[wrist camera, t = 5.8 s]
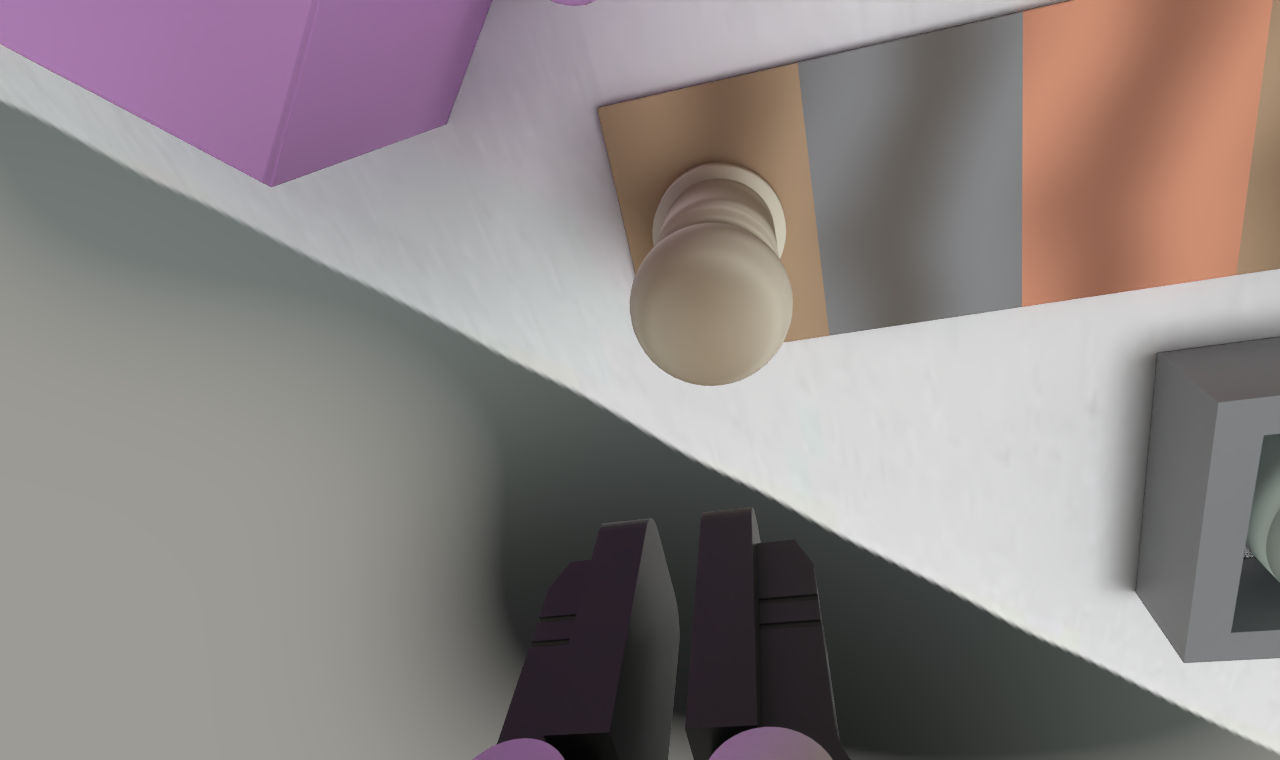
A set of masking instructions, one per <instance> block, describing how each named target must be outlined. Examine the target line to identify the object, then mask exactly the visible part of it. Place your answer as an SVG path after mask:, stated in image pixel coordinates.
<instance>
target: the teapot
mask: <svg viewBox="0 0 1280 760" xmlns="http://www.w3.org/2000/svg"><path fill="white" fill-rule="evenodd" d="M551 1H553V2H556V3H559V4H564V5H570V6H577V5H586V4H589V3H591V2H593V1H595V0H551ZM491 2H492V0H0V44H1V45H3V46H5V47H7V48H9V49H11V50H13V51H15V52H16V53H18V54H20V55H22V56H24V57H26V58H28V59H30V60H31V61H33V62H35V63H37V64H39V65H41V66H43V67H44V68H46V69H48V70H50V71H52V72H54V73H56V74H58V75H60V76H62V77H64V78H66V79H67V80H69V81H71V82H73V83H75V84H77V85H79V86H81V87H83V88H85V89H87V90H89V91H91V92H92V93H94V94H96V95H98V96H100V97H102V98H104V99H106V100H108V101H109V102H111V103H113V104H115V105H117V106H119V107H121V108H123V109H125V110H126V111H128V112H130V113H132V114H134V115H136V116H138V117H140V118H142V119H143V120H145V121H147V122H149V123H151V124H153V125H155V126H157V127H159V128H160V129H162V130H164V131H166V132H168V133H170V134H172V135H174V136H176V137H177V138H179V139H181V140H183V141H185V142H187V143H189V144H191V145H193V146H194V147H196V148H198V149H200V150H202V151H204V152H206V153H208V154H210V155H211V156H213V157H215V158H217V159H219V160H221V161H223V162H225V163H227V164H228V165H230V166H232V167H234V168H236V169H238V170H240V171H242V172H244V173H245V174H247V175H249V176H251V177H253V178H255V179H257V180H259V181H260V182H262V183H264V184H266V185H268V186H270V187H274V186H276V185H279V184H282V183H285V182H288V181H290V180H293V179H296V178H299V177H301V176H304V175H307V174H310V173H312V172H315V171H318V170H321V169H323V168H326V167H329V166H332V165H335V164H337V163H340V162H343V161H346V160H348V159H351V158H354V157H357V156H359V155H362V154H365V153H368V152H370V151H373V150H376V149H379V148H382V147H384V146H387V145H390V144H393V143H395V142H398V141H401V140H404V139H406V138H409V137H412V136H415V135H417V134H420V133H423V132H426V131H428V130H431V129H434V128H437V127H440V126H442V125H445V124H447V121H448V119H449V116H450V113H451V111H452V108H453V105H454V102H455V100H456V97H457V94H458V92H459V89H460V86H461V84H462V81H463V78H464V75H465V73H466V70H467V67H468V65H469V62H470V59H471V56H472V54H473V51H474V48H475V46H476V43H477V40H478V38H479V35H480V32H481V29H482V27H483V24H484V21H485V19H486V16H487V13H488V10H489V8H490V5H491Z"/></svg>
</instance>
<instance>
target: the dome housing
mask: <svg viewBox="0 0 1280 760" xmlns="http://www.w3.org/2000/svg"><path fill="white" fill-rule="evenodd" d="M1272 434H1280V337H1275V338H1268V339H1260V340H1253V341H1245V342H1237V343H1230V344H1222V345H1215V346H1207V347H1199V348H1192V349H1184V350H1177V351H1169V352H1161V353H1157V361H1156V372H1155V384H1154V395H1153V406H1152V417H1151V428H1150V439H1149V451H1148V462H1147V473H1146V484H1145V495H1144V506H1143V518H1142V529H1141V540H1140V551H1139V562H1138V573H1137V585H1136V594H1137V595H1138V597H1139V598H1140V600H1141V601H1142V603H1143V604H1144V605H1145V607H1146V608H1147V610H1148V611H1149V613H1150V614H1151V616H1152V617H1153V619H1154V620H1155V621H1156V623H1157V624H1158V626H1159V627H1160V629H1161V630H1162V632H1163V633H1164V635H1165V636H1166V638H1167V639H1168V640H1169V642H1170V643H1171V645H1172V646H1173V648H1174V649H1175V651H1176V652H1177V654H1178V655H1179V657H1180V658H1181V659H1182V661H1183V662H1184V663H1193V662H1212V661H1232V660H1251V659H1270V658H1280V582H1279V581H1278V580H1277V579H1276V578H1275V577H1274V576H1273V575H1272V574H1271V573H1270V572H1269V571H1268V570H1267V569H1266V568H1265V567H1264V566H1263V565H1262V563H1261V562H1260V561H1259V560H1258V559H1257V558H1245V559H1243V557H1244V551H1245V545H1246V539H1247V533H1248V527H1249V521H1250V515H1251V509H1252V503H1253V497H1254V491H1255V485H1256V479H1257V473H1258V467H1259V461H1260V455H1261V449H1262V443H1263V437H1264V435H1272Z"/></svg>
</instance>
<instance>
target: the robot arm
mask: <svg viewBox="0 0 1280 760" xmlns="http://www.w3.org/2000/svg"><path fill="white" fill-rule="evenodd" d="M539 618H540V623H537V626H536V629H535V632H534V635H533V638H532V647H531V648H529V650H528V653H527V656H526V659H525V662H524V665H523V668H522V671H521V674H520V677H519V680H518V683H517V686H516V689H515V692H514V695H513V698H512V701H511V704H510V707H509V710H508V713H507V716H506V719H505V722H504V725H503V728H502V731H501V734H500V737H499V740H498V743H497V745H495V746H492V747H491V748H489V749H487V750H486V751H484V752H482V753H481V754H480V755H478V756H477V757H475V758H474V759H473V760H668V753H669V743H670V733H671V722H672V712H673V701H674V691H675V679H676V669H677V659H678V649H679V618H678V609H677V604H676V598H675V594H674V590H673V587H672V583H671V579H670V576H669V572H668V568H667V564H666V560H665V556H664V552H663V549H662V545H661V541H660V537H659V533H658V530H657V527H656V524H655V522H654V520H653V519H651V518H650V519H641V520H632V521H623V522H614V523H605V524H602V525H601V527H600V530H599V533H598V537H597V541H596V544H595V548H594V551H593V555H592V559H591V560H587V561H576V562H570V563H569V565H568V566H567V567H566V568H565V570H564V571H563V572H562V573H561V574H560V575H559V577H558V578H557V579H556V580H555V581H554V583H553V584H552V585H551V586H550V588H549V590H548V593H547V596H546V599H545V602H544V605H543V608H542V611H541V614H540V617H539ZM685 730H686V733H687V737H688V740H689V744H690V747H691V751H692V754H693V758H694V760H851V759H850V758H849V757H848V755H847V753H846V752H845V750H844V749H843V747H842V744H841V742H840V740H839V734H838V728H837V720H836V713H835V706H834V699H833V691H832V684H831V677H830V670H829V662H828V656H827V649H826V642H825V635H824V629H823V622H822V616H821V609H820V603H819V597H818V590H817V584H816V577H815V571H814V565H813V563H812V561H811V560H810V559H809V558H808V556H807V555H806V554H805V552H804V551H803V550H802V549H801V547H800V546H799V545H798V544H797V542H796V541H795V540H787V541H776V542H766V543H761V542H760V538H759V532H758V527H757V522H756V517H755V512H754V509H753V508H752V507H750V508H741V509H732V510H723V511H714V512H704V513H702V515H701V524H700V537H699V551H698V564H697V578H696V591H695V604H694V617H693V631H692V645H691V658H690V672H689V684H688V698H687V711H686V724H685Z"/></svg>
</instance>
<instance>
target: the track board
mask: <svg viewBox="0 0 1280 760" xmlns="http://www.w3.org/2000/svg"><path fill="white" fill-rule="evenodd" d="M598 114H599V118H600V122H601V127H602V131H603V135H604V140H605V144H606V148H607V153H608V157H609V161H610V166H611V170H612V174H613V179H614V183H615V188H616V192H617V196H618V201H619V205H620V209H621V214H622V218H623V222H624V227H625V231H626V235H627V240H628V244H629V248H630V253H631V257H632V261H633V266H634V270H635V274H636V273H637V270H638V268H639V267H640V265H641V263H642V262H643V260H644V258H645V257H646V256H647V255H648V253H649V252H650V251H651V249H652V248H654V245H653V239H652V229H653V221H654V217H655V213H656V210H657V208H658V206H659V203H660V201H661V199H662V197H663V195H664V193H665V192H666V190H667V189H668V188H669V186H670V185H671V184H672V183H673V182H674V181H675V180H676V179H677V178H678V177H679V176H681V175H682V174H683V173H685V172H686V171H688V170H690V169H692V168H694V167H696V166H699V165H702V164H706V163H711V162H731V163H736V164H740V165H743V166H746V167H748V168H750V169H752V170H754V171H755V172H757V173H758V174H760V175H761V176H762V177H763V178H765V179H766V180H767V182H768V183H769V184H770V185H771V186H772V187H773V189H774V190H775V192H776V194H777V196H778V197H779V199H780V202H781V205H782V208H783V213H784V218H785V222H786V240H785V245H784V249H783V252H782V255H781V258H780V260H781V262H782V264H783V266H784V268H785V270H786V272H787V275H788V278H789V280H790V284H791V289H792V297H793V310H792V318H791V323H790V327H789V330H788V332H787V335H786V337H785V340H784V341H783V342H789V341H796V340H802V339H809V338H816V337H822V336H829V335H836V334H843V333H849V332H856V331H863V330H870V329H876V328H883V327H890V326H896V325H903V324H910V323H917V322H923V321H930V320H937V319H944V318H950V317H957V316H964V315H970V314H977V313H984V312H991V311H997V310H1004V309H1011V308H1018V307H1024V306H1031V305H1038V304H1044V303H1051V302H1058V301H1065V300H1071V299H1078V298H1085V297H1091V296H1098V295H1105V294H1112V293H1118V292H1125V291H1132V290H1139V289H1145V288H1152V287H1159V286H1165V285H1172V284H1179V283H1186V282H1192V281H1199V280H1206V279H1213V278H1219V277H1226V276H1233V275H1239V274H1246V273H1253V272H1260V271H1266V270H1273V269H1280V0H1069V1H1065V2H1060V3H1056V4H1052V5H1047V6H1043V7H1038V8H1034V9H1030V10H1025V11H1021V12H1016V13H1012V14H1008V15H1003V16H999V17H994V18H990V19H986V20H981V21H977V22H972V23H968V24H963V25H959V26H955V27H950V28H946V29H941V30H937V31H933V32H928V33H924V34H919V35H915V36H911V37H906V38H902V39H897V40H893V41H889V42H884V43H880V44H875V45H871V46H866V47H862V48H858V49H853V50H849V51H844V52H840V53H836V54H831V55H827V56H822V57H818V58H814V59H809V60H805V61H800V62H796V63H792V64H787V65H783V66H778V67H774V68H770V69H765V70H761V71H756V72H752V73H747V74H743V75H739V76H734V77H730V78H725V79H721V80H717V81H712V82H708V83H703V84H699V85H695V86H690V87H686V88H681V89H677V90H673V91H668V92H664V93H659V94H655V95H651V96H646V97H642V98H637V99H633V100H628V101H624V102H620V103H615V104H611V105H606V106H602V107H599V108H598Z"/></svg>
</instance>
